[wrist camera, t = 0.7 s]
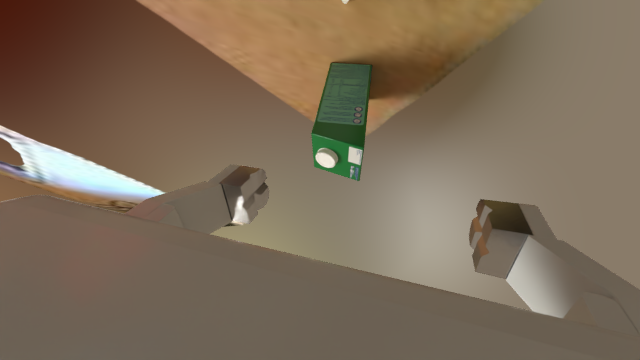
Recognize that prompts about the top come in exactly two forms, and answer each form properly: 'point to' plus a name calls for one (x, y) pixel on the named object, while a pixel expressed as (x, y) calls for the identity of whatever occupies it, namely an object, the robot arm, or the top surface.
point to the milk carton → (342, 120)
